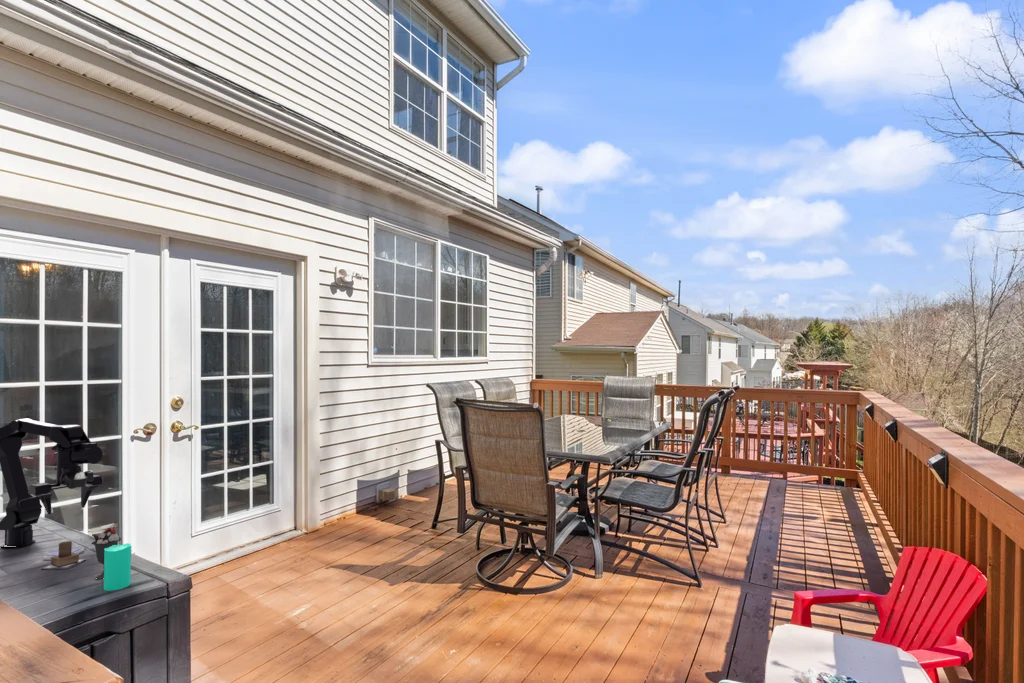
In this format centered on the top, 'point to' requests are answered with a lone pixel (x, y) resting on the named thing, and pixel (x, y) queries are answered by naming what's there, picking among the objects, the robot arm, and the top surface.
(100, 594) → the top surface
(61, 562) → the stamp
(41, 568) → the marked card
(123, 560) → the candle
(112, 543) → the sundae
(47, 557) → the ink pad
